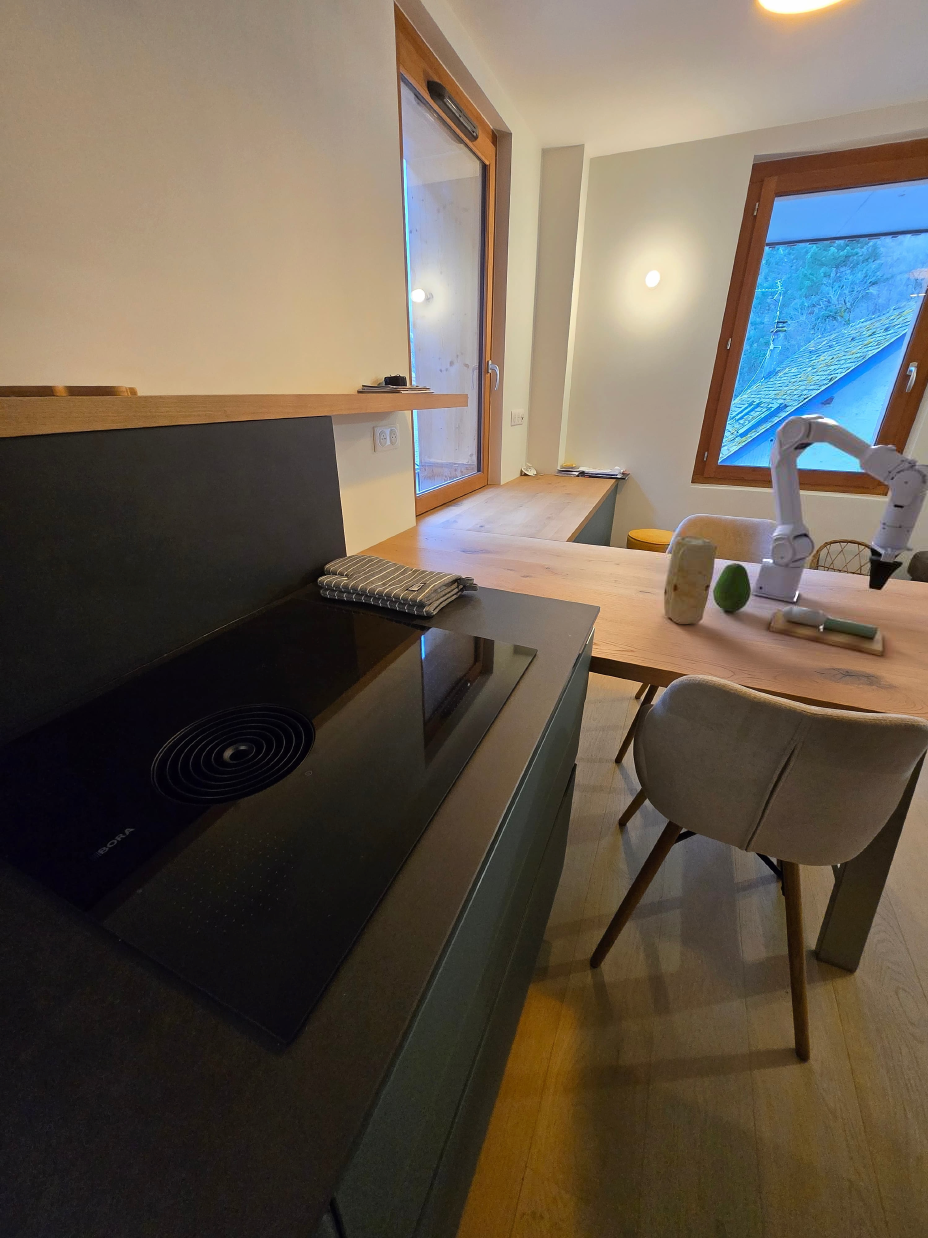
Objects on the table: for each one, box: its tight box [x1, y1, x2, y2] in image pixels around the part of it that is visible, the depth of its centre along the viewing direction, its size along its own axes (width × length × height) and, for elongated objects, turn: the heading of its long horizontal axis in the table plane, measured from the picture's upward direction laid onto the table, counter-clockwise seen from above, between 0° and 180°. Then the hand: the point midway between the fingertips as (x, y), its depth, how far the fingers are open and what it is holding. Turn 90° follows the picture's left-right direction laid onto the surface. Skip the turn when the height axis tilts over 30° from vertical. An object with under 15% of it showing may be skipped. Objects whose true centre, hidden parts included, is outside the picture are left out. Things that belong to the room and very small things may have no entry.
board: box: [769, 608, 883, 656], centre depth 110 cm, size 20×11×1 cm, turn 53°
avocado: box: [712, 562, 752, 612], centre depth 119 cm, size 8×8×12 cm
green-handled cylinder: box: [782, 605, 879, 639], centre depth 109 cm, size 17×4×4 cm, turn 53°
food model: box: [663, 535, 718, 625], centre depth 113 cm, size 10×7×20 cm
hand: (874, 583), depth 111 cm, fingers open, 7 cm apart
